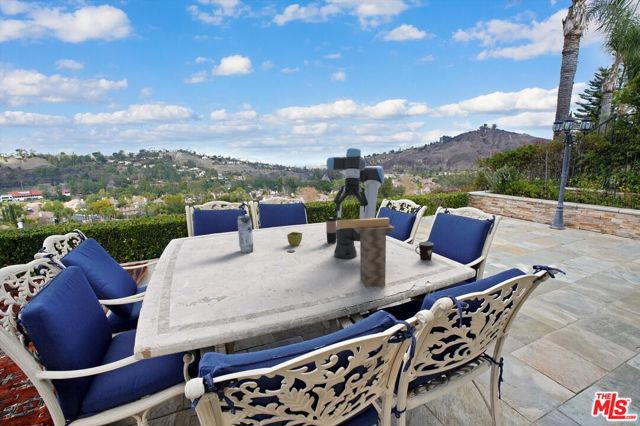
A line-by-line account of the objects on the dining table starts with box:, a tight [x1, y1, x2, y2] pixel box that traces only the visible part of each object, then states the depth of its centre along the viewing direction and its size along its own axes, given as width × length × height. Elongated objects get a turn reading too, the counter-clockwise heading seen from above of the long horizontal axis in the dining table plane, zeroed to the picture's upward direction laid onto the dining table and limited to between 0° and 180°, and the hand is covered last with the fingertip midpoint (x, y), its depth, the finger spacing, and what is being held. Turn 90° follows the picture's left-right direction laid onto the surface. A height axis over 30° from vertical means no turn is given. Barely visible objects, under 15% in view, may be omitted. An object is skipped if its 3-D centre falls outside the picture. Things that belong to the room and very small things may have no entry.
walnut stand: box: [353, 223, 396, 288], centre depth 144 cm, size 18×12×30 cm, turn 98°
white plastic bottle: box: [237, 213, 254, 254], centre depth 203 cm, size 9×10×27 cm
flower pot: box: [286, 231, 303, 247], centre depth 217 cm, size 9×9×9 cm
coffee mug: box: [414, 241, 434, 261], centre depth 179 cm, size 12×9×10 cm
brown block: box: [336, 217, 390, 229], centre depth 141 cm, size 26×3×4 cm, turn 98°
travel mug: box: [325, 215, 337, 245], centre depth 219 cm, size 8×8×20 cm
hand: (350, 217), depth 152 cm, fingers open, 13 cm apart
